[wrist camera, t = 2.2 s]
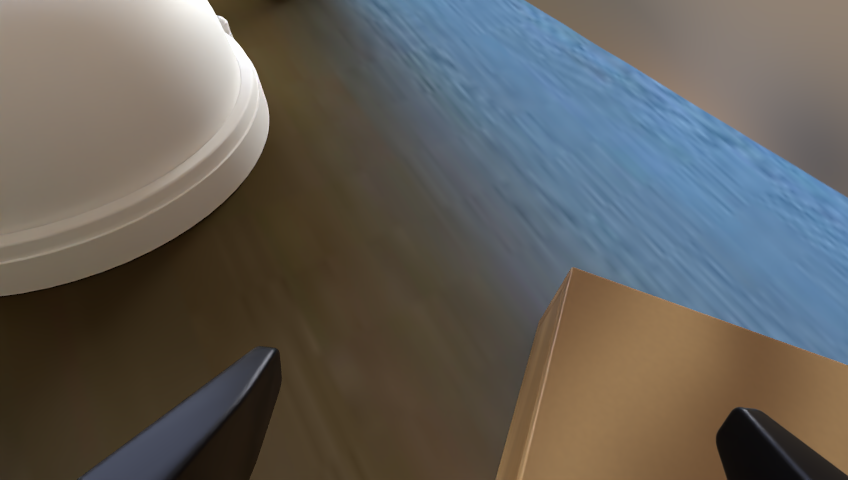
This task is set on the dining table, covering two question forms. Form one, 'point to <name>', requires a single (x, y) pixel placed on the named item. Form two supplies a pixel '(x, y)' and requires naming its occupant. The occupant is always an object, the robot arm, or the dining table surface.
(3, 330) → the dining table surface
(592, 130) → the dining table surface
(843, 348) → the dining table surface
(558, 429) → the cabinet
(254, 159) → the dome cover
